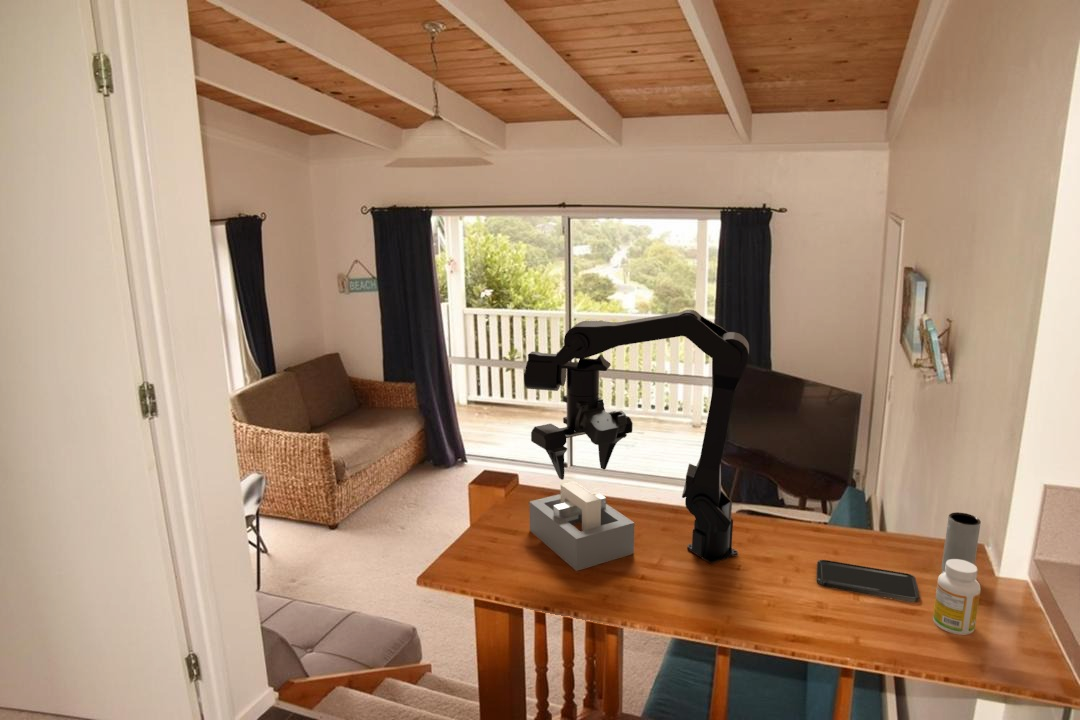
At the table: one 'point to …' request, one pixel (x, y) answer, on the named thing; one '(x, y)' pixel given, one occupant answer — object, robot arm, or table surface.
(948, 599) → the supplement bottle
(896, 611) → the table surface
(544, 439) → the robot arm
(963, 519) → the grey hollow cylinder
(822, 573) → the phone
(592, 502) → the cream block
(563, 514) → the cross bar
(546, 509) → the frame
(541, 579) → the table surface
